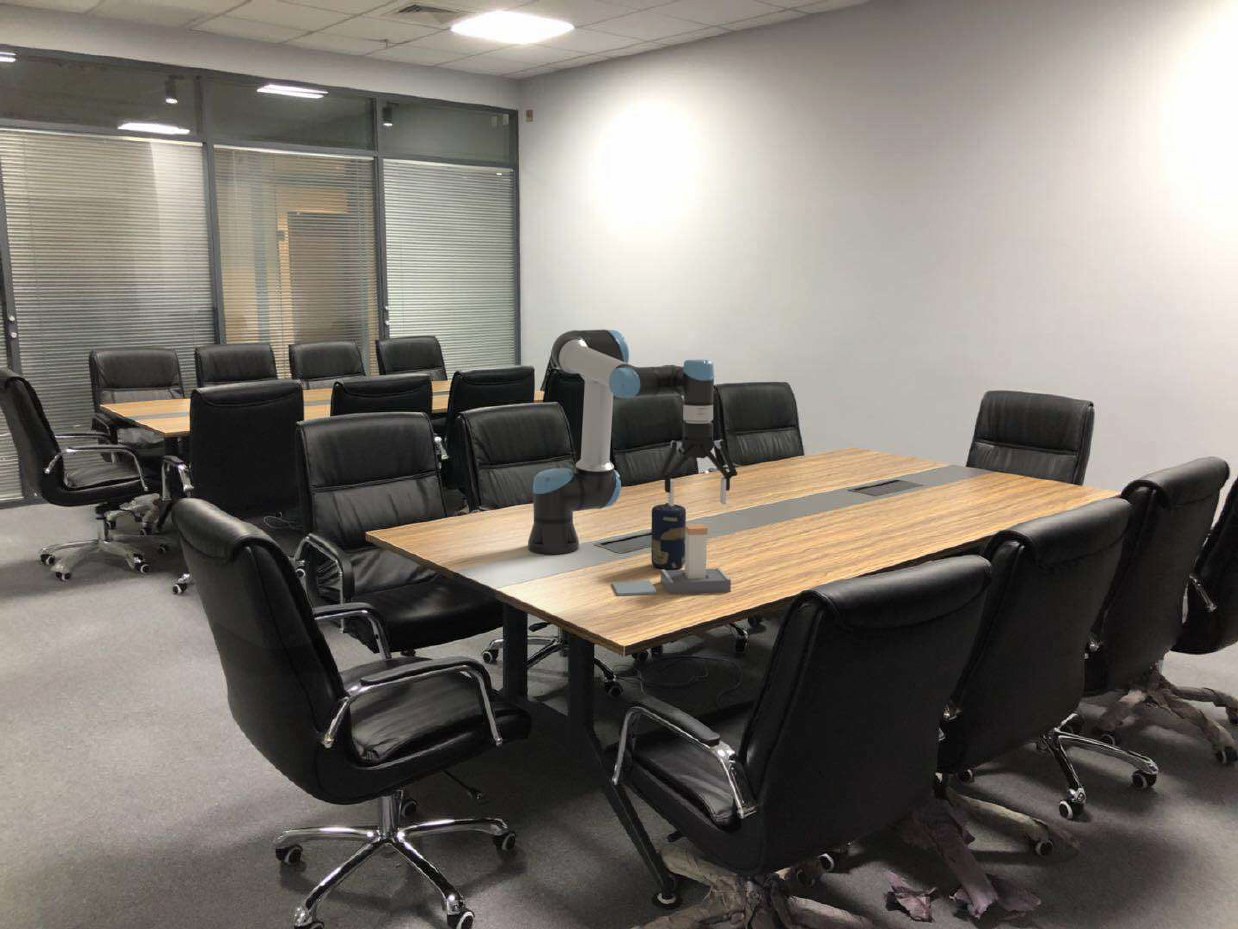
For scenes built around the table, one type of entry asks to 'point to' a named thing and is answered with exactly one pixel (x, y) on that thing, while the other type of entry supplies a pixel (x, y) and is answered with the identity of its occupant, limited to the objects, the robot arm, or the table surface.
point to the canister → (668, 536)
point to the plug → (695, 551)
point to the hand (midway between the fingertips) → (697, 504)
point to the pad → (634, 588)
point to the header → (695, 582)
